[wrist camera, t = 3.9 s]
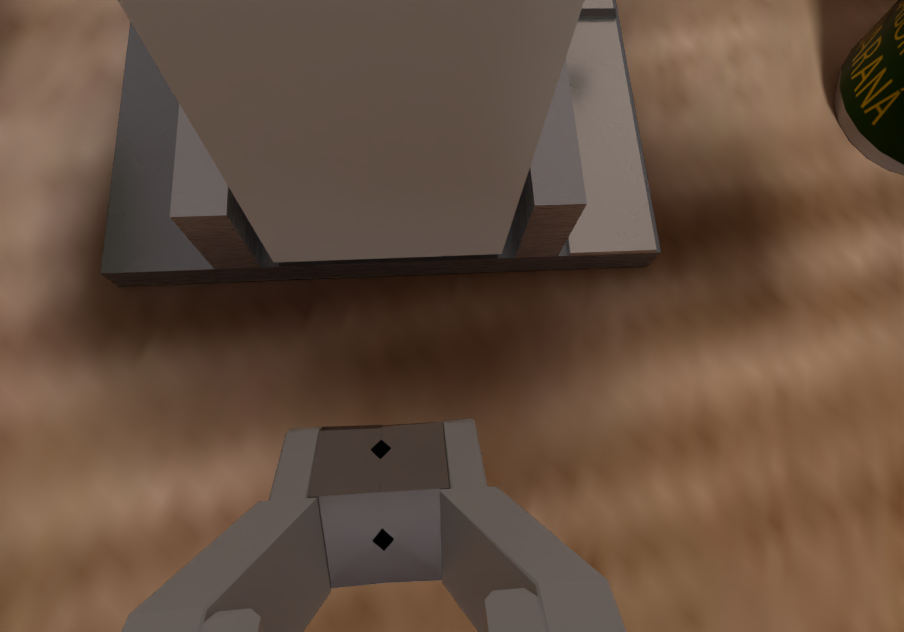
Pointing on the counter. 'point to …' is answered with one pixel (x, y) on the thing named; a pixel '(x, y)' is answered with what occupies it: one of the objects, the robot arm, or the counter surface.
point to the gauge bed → (526, 249)
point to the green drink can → (875, 92)
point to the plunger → (366, 114)
